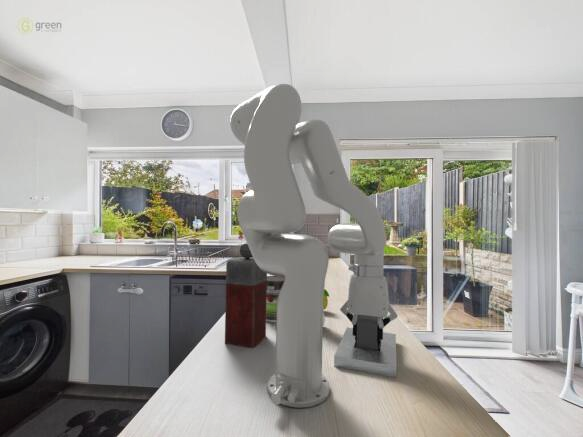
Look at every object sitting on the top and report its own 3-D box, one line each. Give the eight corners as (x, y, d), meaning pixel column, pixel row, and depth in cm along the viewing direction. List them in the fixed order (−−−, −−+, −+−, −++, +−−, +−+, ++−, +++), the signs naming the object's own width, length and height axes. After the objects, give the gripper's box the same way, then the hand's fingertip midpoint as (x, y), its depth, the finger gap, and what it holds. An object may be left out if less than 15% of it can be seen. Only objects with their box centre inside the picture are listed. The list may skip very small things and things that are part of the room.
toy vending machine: (269, 333, 87) (270, 242, 88) (253, 348, 77) (255, 244, 77) (243, 329, 90) (244, 241, 91) (224, 343, 80) (226, 243, 80)
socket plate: (396, 377, 63) (396, 363, 63) (334, 366, 68) (334, 353, 68) (395, 342, 82) (395, 331, 82) (346, 335, 87) (346, 325, 87)
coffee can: (284, 323, 96) (285, 282, 96) (255, 320, 99) (256, 280, 99) (291, 314, 106) (292, 276, 106) (265, 311, 109) (266, 275, 109)
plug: (376, 354, 71) (377, 322, 71) (356, 351, 73) (356, 319, 73) (378, 340, 80) (378, 312, 80) (360, 338, 81) (360, 310, 82)
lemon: (329, 314, 106) (329, 287, 107) (313, 314, 107) (313, 287, 107) (327, 309, 113) (328, 284, 113) (313, 308, 113) (313, 283, 114)
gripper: (334, 271, 75) (333, 340, 74) (403, 276, 69) (402, 351, 68) (339, 267, 82) (338, 330, 81) (402, 271, 76) (401, 339, 76)
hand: (367, 339), depth 75 cm, fingers closed on plug, 4 cm apart
